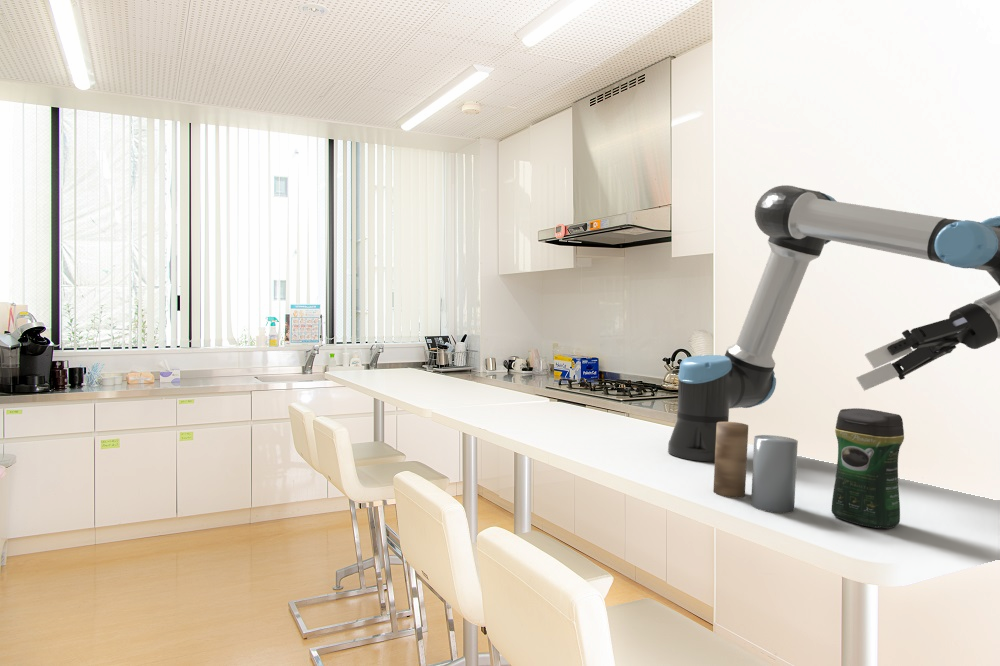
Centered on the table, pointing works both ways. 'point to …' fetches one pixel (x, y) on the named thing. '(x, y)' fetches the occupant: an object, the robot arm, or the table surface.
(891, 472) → the coffee jar
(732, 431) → the walnut spice mill
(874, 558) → the table surface
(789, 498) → the slate canister
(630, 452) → the table surface
